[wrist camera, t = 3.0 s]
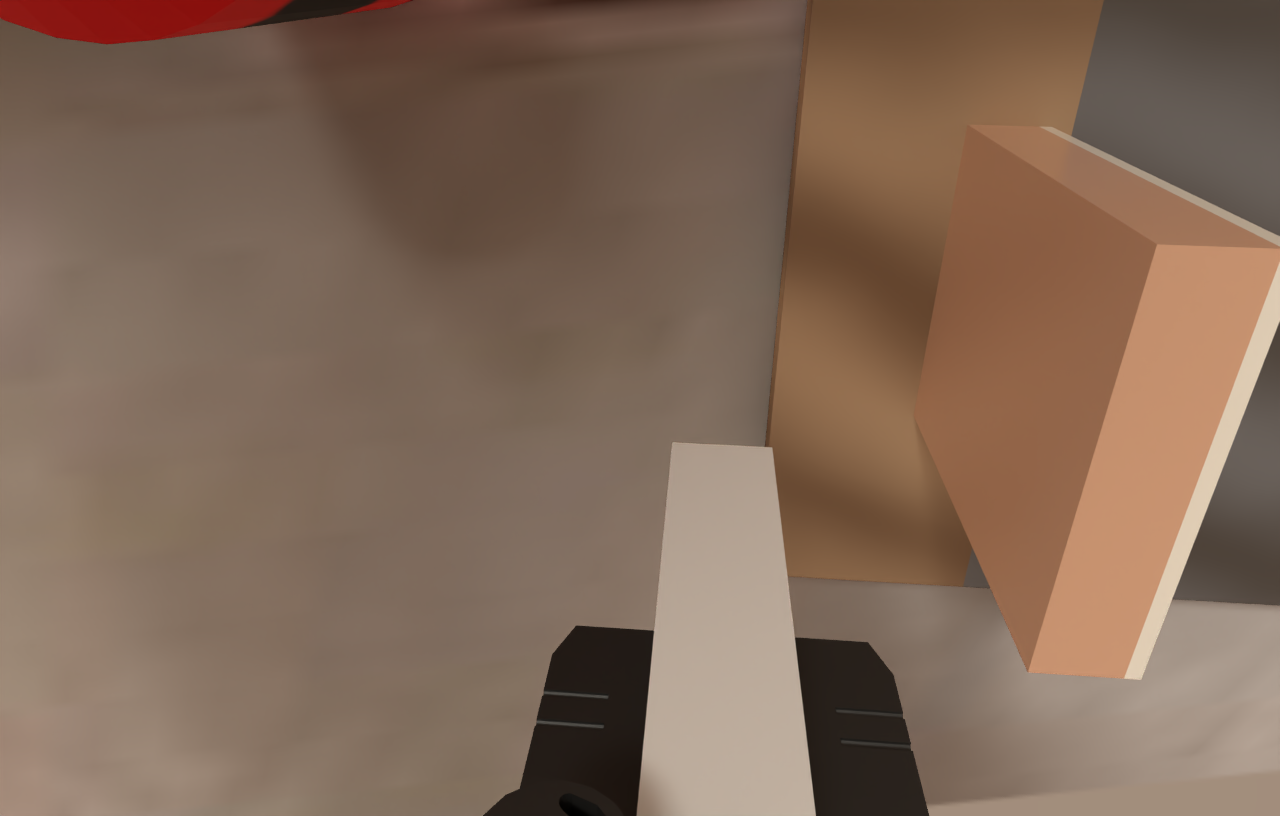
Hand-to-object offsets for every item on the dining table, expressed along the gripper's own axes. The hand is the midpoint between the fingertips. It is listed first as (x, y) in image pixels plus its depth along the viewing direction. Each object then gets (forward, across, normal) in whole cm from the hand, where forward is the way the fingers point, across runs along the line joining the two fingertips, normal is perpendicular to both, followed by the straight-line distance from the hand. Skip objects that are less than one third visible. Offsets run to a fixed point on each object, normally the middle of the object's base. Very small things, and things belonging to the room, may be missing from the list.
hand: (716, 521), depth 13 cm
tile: (+11, +7, 0) cm, 13 cm away
